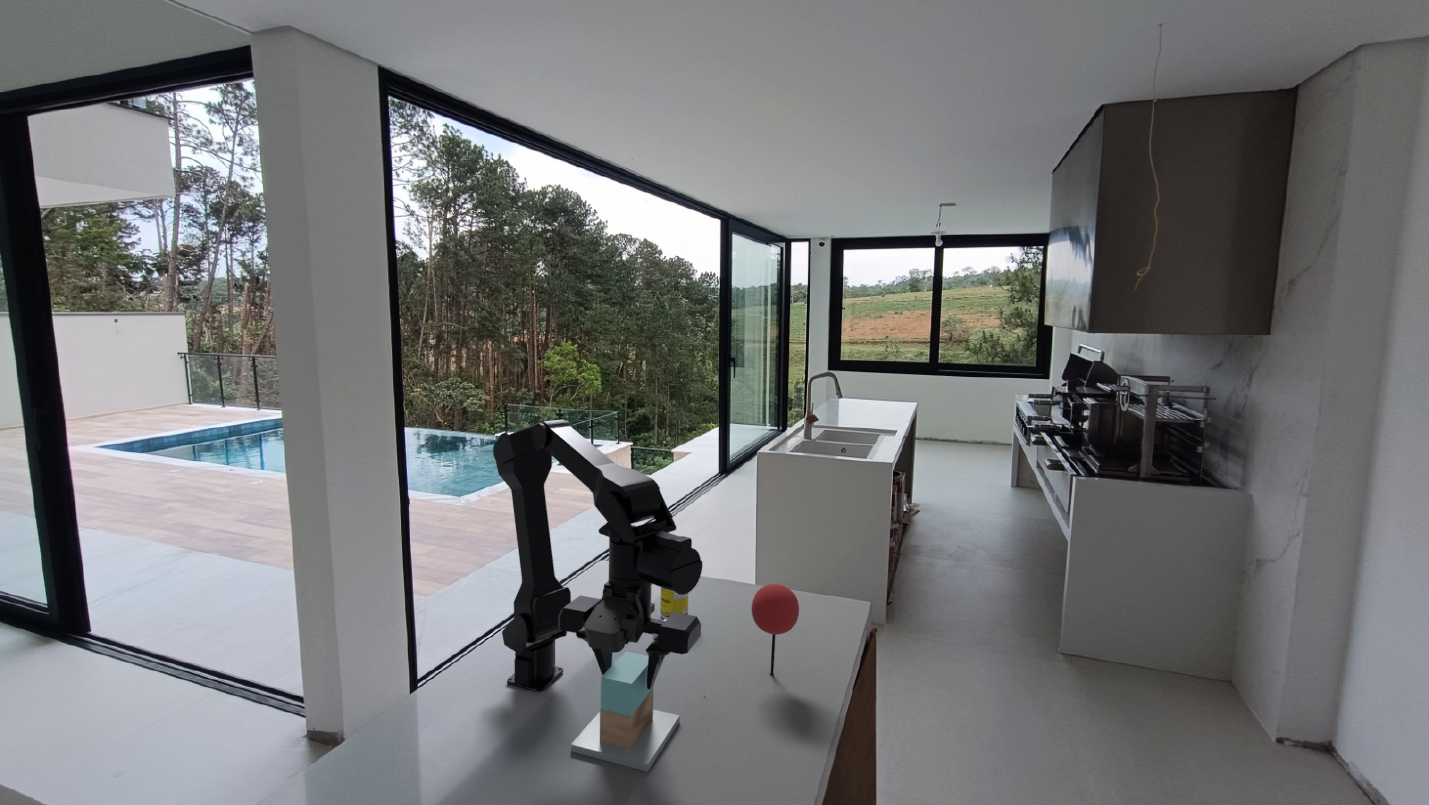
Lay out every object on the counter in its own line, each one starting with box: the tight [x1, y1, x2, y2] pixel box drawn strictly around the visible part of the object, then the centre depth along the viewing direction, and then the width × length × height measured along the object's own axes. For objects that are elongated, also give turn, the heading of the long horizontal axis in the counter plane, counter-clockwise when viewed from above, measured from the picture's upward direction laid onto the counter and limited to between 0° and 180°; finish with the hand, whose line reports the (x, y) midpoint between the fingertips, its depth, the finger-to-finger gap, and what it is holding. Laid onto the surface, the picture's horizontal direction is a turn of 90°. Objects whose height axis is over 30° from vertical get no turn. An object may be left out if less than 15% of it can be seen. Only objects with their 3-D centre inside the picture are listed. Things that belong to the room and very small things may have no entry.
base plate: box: [570, 708, 681, 773], centre depth 86 cm, size 11×11×1 cm
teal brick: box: [600, 651, 655, 716], centre depth 86 cm, size 7×4×4 cm, turn 162°
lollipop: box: [751, 583, 800, 676], centre depth 103 cm, size 8×8×15 cm
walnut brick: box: [599, 688, 654, 750], centre depth 86 cm, size 7×4×4 cm, turn 161°
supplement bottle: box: [659, 587, 689, 620], centre depth 123 cm, size 5×5×10 cm
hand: (628, 683), depth 86 cm, fingers open, 6 cm apart
